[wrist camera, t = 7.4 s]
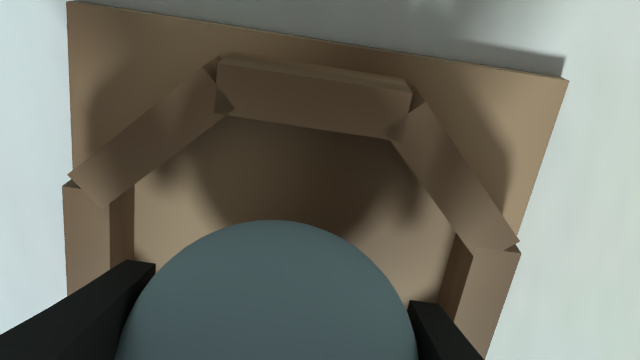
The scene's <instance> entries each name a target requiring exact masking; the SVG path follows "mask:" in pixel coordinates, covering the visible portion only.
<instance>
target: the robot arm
mask: <svg viewBox="0 0 640 360" xmlns="http://www.w3.org/2000/svg"><path fill="white" fill-rule="evenodd" d="M155 274H156V264H155V263H148V262H141V261H134V260H125V261H123V262H121V263H120V264H118V265H116V266H115V267H113V268H112V269H110V270H108V271H107V272H105V273H104V274H102V275H101V276H99V277H98V278H96V279H94V280H93V281H91V282H90V283H88V284H87V285H85V286H83V287H82V288H80V289H79V290H77V291H75V292H74V293H72V294H70V295H69V296H67V297H66V298H64V299H62V300H61V301H59V302H57V303H56V304H54V305H53V306H51V307H49V308H48V309H46V310H44V311H42V312H41V313H39V314H37V315H35V316H33V317H32V318H30V319H28V320H26V321H24V322H23V323H21V324H19V325H17V326H15V327H14V328H12V329H10V330H8V331H6V332H5V333H3V334H1V335H0V360H114V359H115V355H116V351H117V347H118V344H119V340H120V336H121V333H122V329H123V327H124V325H125V323H126V320H127V318H128V316H129V314H130V312H131V310H132V308H133V306H134V304H135V302H136V300H137V299H138V297H139V296H140V294H141V293H142V291H143V290H144V288H145V287H146V285H147V284H148V283H149V281H150V280H151V279H152V277H153V276H154V275H155ZM407 313H408V316H409V319H410V322H411V325H412V328H413V332H414V335H415V338H416V342H417V349H418V357H419V360H484V359H483V357H482V356H481V355H480V354H479V353H478V352H477V350H476V349H475V348H474V347H473V346H472V344H471V343H470V342H469V341H468V339H467V338H466V337H465V336H464V335H463V333H462V332H461V331H460V330H459V328H458V327H457V326H456V325H455V323H454V322H453V321H452V320H451V318H450V317H449V316H448V315H447V314H446V312H445V311H444V310H443V309H442V308H441V306H440V305H439V304H436V303H429V302H422V301H415V300H410V301H409V305H408V309H407Z"/></svg>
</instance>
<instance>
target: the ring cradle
mask: <svg viewBox="0 0 640 360" xmlns="http://www.w3.org/2000/svg"><path fill="white" fill-rule="evenodd" d="M66 9H67V34H68V59H69V85H70V110H71V135H72V161H73V171H71V172H70V173H69V174H68V176H69V177H70V178H71V180H70V181H68V182H67V183H66V184H64V185H63V186H62V194H63V215H64V235H65V256H66V276H67V296H69V295H70V294H72V293H74V292H75V291H77V290H79V289H80V288H82V287H83V286H85V285H87V284H88V283H90V282H91V281H93V280H94V279H96V278H98V277H99V276H101V275H102V274H104V273H105V272H107V271H108V270H110V269H112V268H113V267H115V266H116V265H118V264H120V263H121V262H123V261H125V260H134V261H141V262H148V263H155V264H156V273H157V272H158V271H159V270H160V269H161V268H162V266H163V265H164V264H166V263H167V262H168V261H169V260H170V259H171V258H172V257H174V256H175V255H176V254H177V253H179V252H180V251H181V250H182V249H184V248H185V247H186V246H188V245H190V244H191V243H193V242H195V241H196V240H198V239H200V238H202V237H204V236H206V235H208V234H210V233H212V232H215V231H217V230H219V229H222V228H224V227H228V226H231V225H235V224H239V223H244V222H251V221H258V220H284V221H294V222H299V223H303V224H308V225H311V226H314V227H317V228H320V229H323V230H326V231H328V232H330V233H332V234H334V235H337V236H339V237H341V238H343V239H344V240H346V241H347V242H349V243H350V244H352V245H354V246H355V247H357V248H358V249H359V250H360V251H361V252H363V253H364V254H365V255H366V256H367V257H369V258H370V259H371V260H372V261H373V262H374V263H375V265H376V266H377V267H378V268H379V269H380V270H381V271H382V272H383V273H384V274H385V275H386V277H387V278H388V280H389V281H390V283H391V284H392V285H393V287H394V288H395V290H396V292H397V293H398V295H399V297H400V299H401V301H402V303H403V305H404V307H405V309H406V311H407V309H408V305H409V301H410V300H415V301H422V302H429V303H436V304H439V305H440V306H441V308H442V309H443V310H444V311H445V312H446V314H447V315H448V316H449V317H450V318H451V320H452V321H453V322H454V323H455V325H456V326H457V327H458V328H459V330H460V331H461V332H462V333H463V335H464V336H465V337H466V338H467V339H468V341H469V342H470V343H471V344H472V346H473V347H474V348H475V349H476V350H477V352H478V353H479V354H480V355H481V356H482V357H483V359H484V360H485V357H486V354H487V352H488V349H489V346H490V343H491V340H492V337H493V334H494V331H495V328H496V326H497V323H498V320H499V317H500V314H501V311H502V308H503V305H504V302H505V300H506V297H507V294H508V291H509V288H510V285H511V282H512V279H513V276H514V274H515V271H516V268H517V265H518V262H519V259H520V256H521V252H520V251H519V249H518V248H517V246H516V245H515V244H516V243H518V242H519V239H518V238H517V234H518V231H519V228H520V226H521V223H522V220H523V217H524V214H525V211H526V208H527V205H528V202H529V199H530V196H531V193H532V190H533V187H534V184H535V181H536V178H537V175H538V172H539V169H540V166H541V163H542V160H543V157H544V154H545V151H546V148H547V146H548V143H549V140H550V137H551V134H552V131H553V128H554V125H555V122H556V119H557V116H558V113H559V110H560V107H561V104H562V101H563V98H564V95H565V92H566V89H567V86H568V83H569V80H566V79H564V78H562V77H556V76H550V75H543V74H537V73H531V72H524V71H518V70H512V69H505V68H499V67H493V66H486V65H480V64H474V63H467V62H461V61H455V60H448V59H442V58H435V57H429V56H423V55H416V54H410V53H404V52H397V51H391V50H385V49H378V48H372V47H366V46H359V45H353V44H347V43H340V42H334V41H328V40H321V39H315V38H309V37H302V36H296V35H289V34H283V33H277V32H270V31H264V30H258V29H251V28H245V27H239V26H232V25H226V24H220V23H213V22H207V21H201V20H194V19H188V18H182V17H175V16H169V15H162V14H156V13H150V12H143V11H137V10H131V9H124V8H118V7H112V6H105V5H99V4H93V3H86V2H80V1H68V2H66Z"/></svg>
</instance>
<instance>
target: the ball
mask: <svg viewBox="0 0 640 360" xmlns="http://www.w3.org/2000/svg"><path fill="white" fill-rule="evenodd" d="M114 360H419V357H418V349H417V342H416V338H415V335H414V332H413V328H412V325H411V322H410V319H409V316H408V313H407V311H406V309H405V307H404V305H403V303H402V301H401V299H400V297H399V295H398V293H397V292H396V290H395V288H394V287H393V285H392V284H391V283H390V281H389V280H388V278H387V277H386V275H385V274H384V273H383V272H382V271H381V270H380V269H379V268H378V267H377V266H376V265H375V263H374V262H373V261H372V260H371V259H370V258H369V257H367V256H366V255H365V254H364V253H363V252H361V251H360V250H359V249H358V248H357V247H355V246H354V245H352V244H350V243H349V242H347V241H346V240H344V239H343V238H341V237H339V236H337V235H334V234H332V233H330V232H328V231H326V230H323V229H320V228H317V227H314V226H311V225H308V224H303V223H299V222H294V221H284V220H258V221H251V222H244V223H239V224H235V225H231V226H228V227H224V228H222V229H219V230H217V231H215V232H212V233H210V234H208V235H206V236H204V237H202V238H200V239H198V240H196V241H195V242H193V243H191V244H190V245H188V246H186V247H185V248H184V249H182V250H181V251H180V252H179V253H177V254H176V255H175V256H174V257H172V258H171V259H170V260H169V261H168V262H167V263H166V264H164V265H163V266H162V268H161V269H160V270H159V271H158V272H157V273H156V274H155V275H154V276H153V277H152V279H151V280H150V281H149V283H148V284H147V285H146V287H145V288H144V290H143V291H142V293H141V294H140V296H139V297H138V299H137V300H136V302H135V304H134V306H133V308H132V310H131V312H130V314H129V316H128V318H127V320H126V323H125V325H124V327H123V329H122V333H121V336H120V340H119V344H118V347H117V351H116V355H115V359H114Z"/></svg>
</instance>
